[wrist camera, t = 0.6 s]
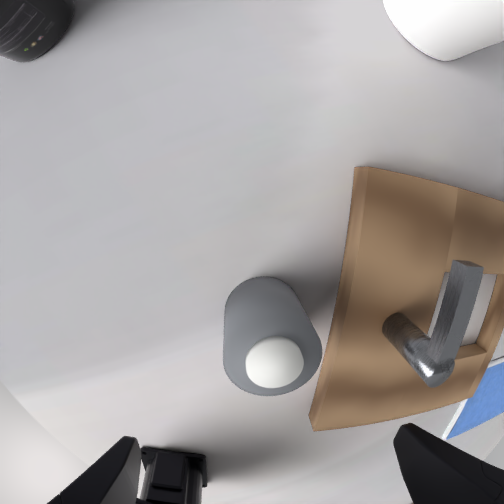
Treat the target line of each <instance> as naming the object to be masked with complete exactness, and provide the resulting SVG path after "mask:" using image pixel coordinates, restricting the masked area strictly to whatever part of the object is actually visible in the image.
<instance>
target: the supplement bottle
mask: <svg viewBox="0 0 504 504" xmlns="http://www.w3.org/2000/svg"><path fill="white" fill-rule="evenodd" d="M73 13H74V0H0V56H3V57H5V58H8V59H11V60H13V61H16V62H27V61H31V60H33V59H35V58H37V57H39V56H41V55H42V54H44V53H45V52H46V51H48V50H49V49H50V48H51V47H52V46H53V45H54V44H55V43H56V42H57V41H58V40H59V39H60V37H61V36H62V35H63V34H64V32H65V31H66V29H67V27H68V26H69V24H70V22H71V19H72V16H73Z"/></svg>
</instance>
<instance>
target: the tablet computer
mask: <svg viewBox="0 0 504 504" xmlns="http://www.w3.org/2000/svg"><path fill="white" fill-rule="evenodd" d="M503 412H504V357H503V358H500V359H497V360H494V361H491V362H490V363H489V365H488V367H487V369H486V371H485V373H484V376H483V378H482V380H481V382H480V384H479V386H478V388H477V390H476V391H475V393H474V395H473V397H471V398H468V399H465V400H463V401H462V402H461V404H460V406H459V407H458V409H457V411H456V413H455V415H454V417H453V419H452V420H451V422H450V424H449V426H448V427H447V429H446V431H445V432H444V434H443V435H442V439H443V440H448V439H450V438H452V437H455V436H457V435H459V434H461V433H464V432H466V431H468V430H470V429H472V428H474V427H476V426H478V425H480V424H482V423H484V422H486V421H488V420H490V419H492V418H494V417H495V416H497V415H499V414H501V413H503Z"/></svg>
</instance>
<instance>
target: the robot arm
mask: <svg viewBox="0 0 504 504" xmlns="http://www.w3.org/2000/svg"><path fill="white" fill-rule="evenodd" d="M393 444H394V448H395V452H396V455H397V459H398V462H399V466H400V469H401V473H402V476H403V479H404V481H405V484H406V486H407V488H408V491H409V493H410V496H411V498H412V501H413V503H414V504H504V470H502V469H500V468H497V467H495V466H492V465H490V464H488V463H486V462H484V461H482V460H480V459H478V458H476V457H474V456H472V455H470V454H468V453H466V452H464V451H462V450H460V449H458V448H456V447H454V446H453V445H451V444H449V443H447V442H445V441H443V440H441V439H440V438H438V437H436V436H434V435H432V434H430V433H429V432H427V431H425V430H423V429H422V428H420V427H418V426H416V425H414V424H413V423H408V424H404V425H402V426H401V427H400V428H399V430H398V432H397V434H396V436H395V438H394V441H393ZM141 459H142V462H143V465H144V468H145V471H146V473H145V478H144V482H143V487H142V492H141V496H140V499H139V498H137V493H138V483H139V474H140V465H141ZM202 487H207V466H206V456H204V455H201V454H190V453H180V452H171V451H164V450H157V449H150V448H144V447H142V448H140V447H139V444H138V441H137V439H136V438H135V437H129V436H124V437H122V438H121V439H120V440H119V441H118V442H117V443H116V444H115V445H114V446H112V447H111V448H110V449H109V450H108V451H107V452H106V453H105V454H104V455H103V456H101V457H100V458H99V459H98V460H97V461H96V462H95V463H94V464H93V465H91V466H90V467H89V468H88V469H87V470H86V471H85V472H84V473H83V474H81V476H79V477H78V478H77V479H76V480H75V481H73V482H72V483H71V484H70V485H69V486H68V487H66V488H65V489H64V490H63V491H62V492H61V493H60V495H59V494H58V495H57V496H56V497H54V498H53V499H52V500H51V501H50V502H48V503H47V504H201V497H202Z"/></svg>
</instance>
